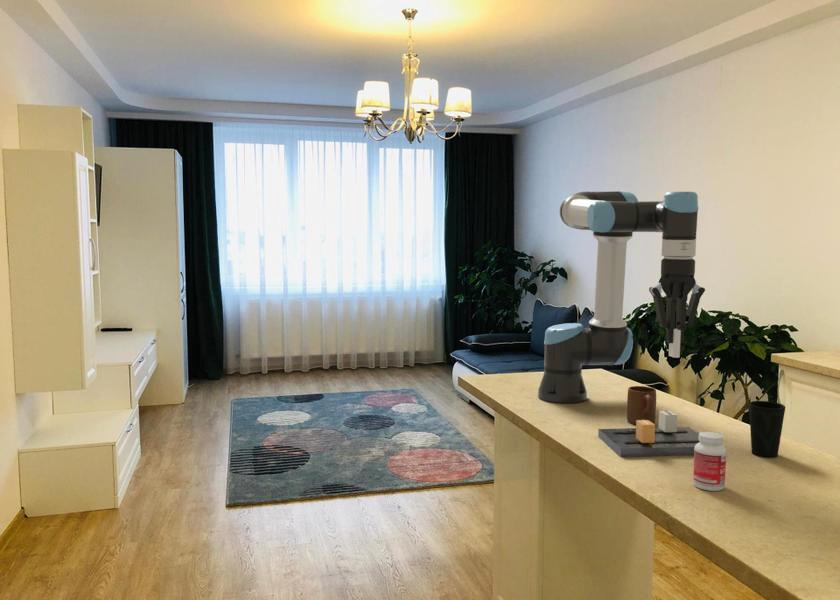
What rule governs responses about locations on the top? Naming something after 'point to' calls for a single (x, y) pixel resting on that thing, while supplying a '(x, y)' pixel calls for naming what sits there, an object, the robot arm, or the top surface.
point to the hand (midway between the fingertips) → (674, 356)
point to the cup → (766, 427)
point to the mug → (641, 404)
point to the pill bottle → (709, 462)
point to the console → (663, 444)
